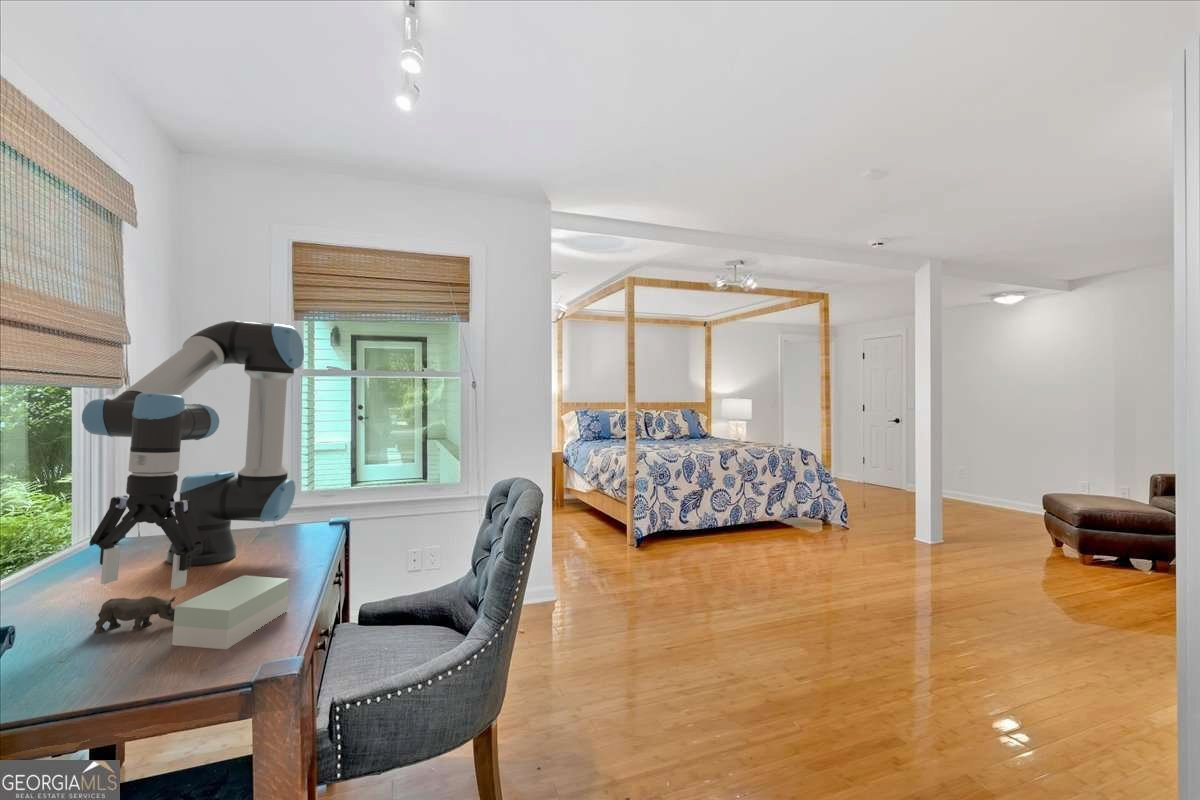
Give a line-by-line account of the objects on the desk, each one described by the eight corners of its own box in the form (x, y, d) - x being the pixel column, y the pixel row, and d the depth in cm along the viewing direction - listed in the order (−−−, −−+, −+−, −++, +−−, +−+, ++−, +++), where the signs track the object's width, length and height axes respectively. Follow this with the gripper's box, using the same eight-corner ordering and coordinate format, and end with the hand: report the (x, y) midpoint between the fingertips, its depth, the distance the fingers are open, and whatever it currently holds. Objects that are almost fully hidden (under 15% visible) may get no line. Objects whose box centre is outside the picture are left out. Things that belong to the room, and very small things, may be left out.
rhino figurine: (180, 629, 104) (183, 597, 104) (90, 635, 99) (92, 602, 99) (188, 620, 108) (190, 590, 108) (101, 626, 103) (104, 595, 103)
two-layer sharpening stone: (241, 608, 115) (243, 575, 115) (287, 611, 115) (289, 578, 115) (172, 645, 97) (175, 606, 97) (226, 649, 97) (229, 610, 97)
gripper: (71, 471, 101) (60, 585, 100) (201, 480, 100) (192, 595, 99) (108, 467, 108) (99, 574, 108) (230, 475, 107) (221, 583, 107)
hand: (143, 584), depth 103 cm, fingers open, 13 cm apart
